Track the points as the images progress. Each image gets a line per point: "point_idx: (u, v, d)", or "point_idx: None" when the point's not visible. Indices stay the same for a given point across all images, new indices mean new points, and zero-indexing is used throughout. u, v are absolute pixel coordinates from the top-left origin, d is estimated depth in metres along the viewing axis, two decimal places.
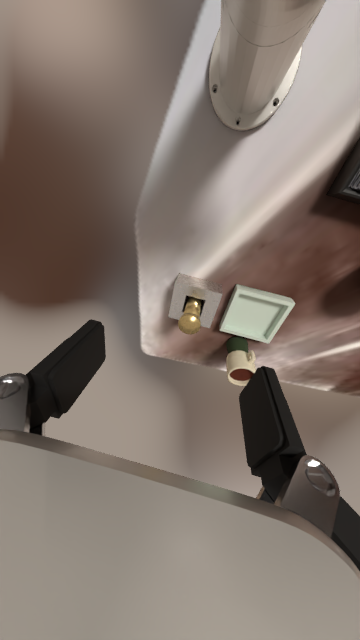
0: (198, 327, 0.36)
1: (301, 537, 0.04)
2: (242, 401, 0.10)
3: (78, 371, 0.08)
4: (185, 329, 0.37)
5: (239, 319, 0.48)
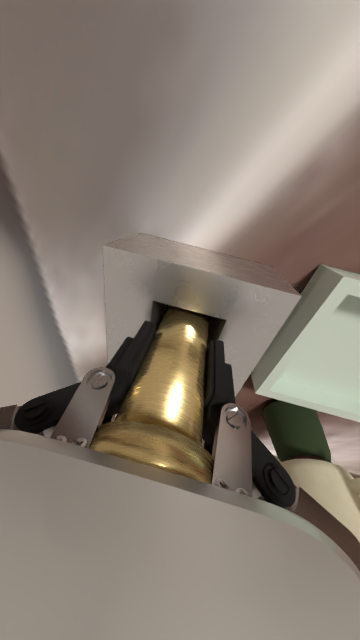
0: None
1: (301, 537, 0.04)
2: None
3: None
4: None
5: (310, 365, 0.18)
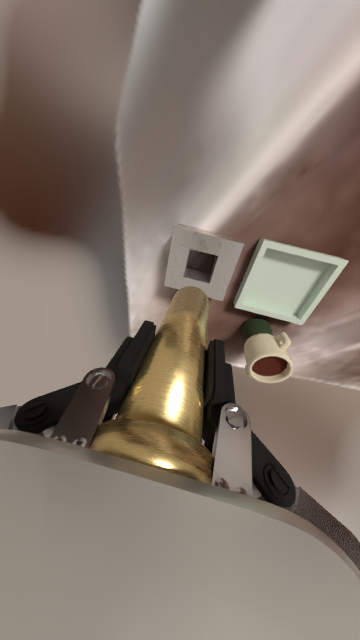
0: None
1: (301, 537, 0.04)
2: None
3: None
4: None
5: (262, 291, 0.35)
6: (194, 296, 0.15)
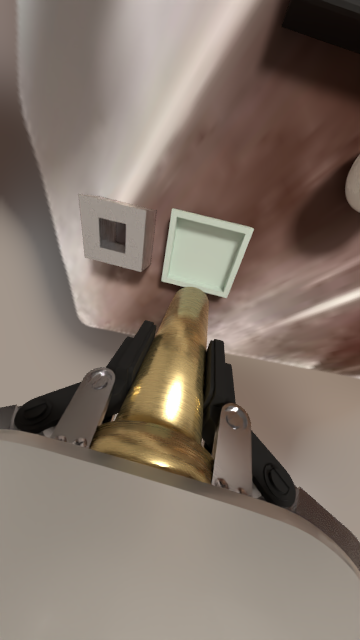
0: None
1: (301, 537, 0.04)
2: None
3: None
4: None
5: (186, 265, 0.36)
6: (194, 297, 0.15)
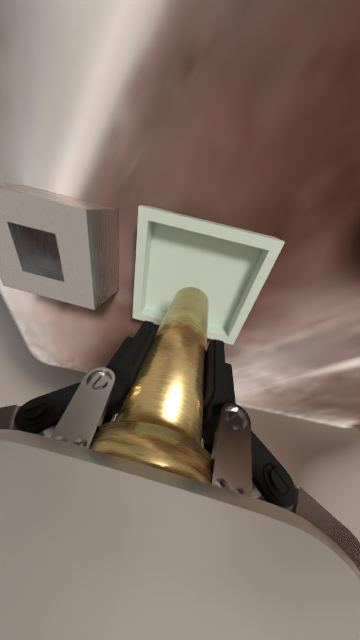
0: None
1: (301, 537, 0.04)
2: None
3: None
4: None
5: (171, 294, 0.23)
6: (194, 297, 0.15)
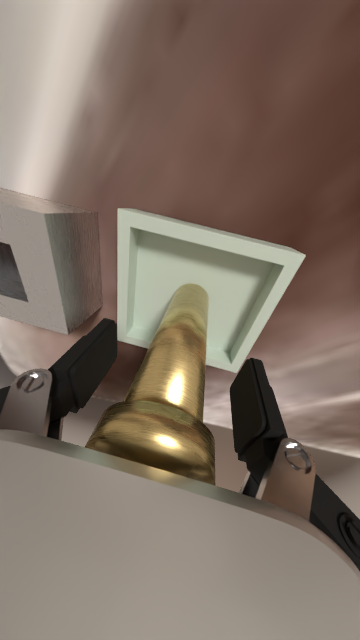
0: None
1: (301, 537, 0.04)
2: (232, 392, 0.11)
3: (94, 367, 0.09)
4: None
5: (163, 312, 0.19)
6: (195, 293, 0.15)
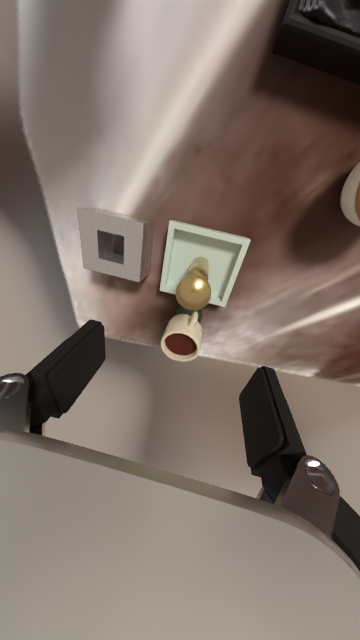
0: (207, 297, 0.23)
1: (301, 537, 0.04)
2: (242, 401, 0.10)
3: (78, 371, 0.08)
4: (187, 302, 0.23)
5: (184, 274, 0.36)
6: (202, 260, 0.32)
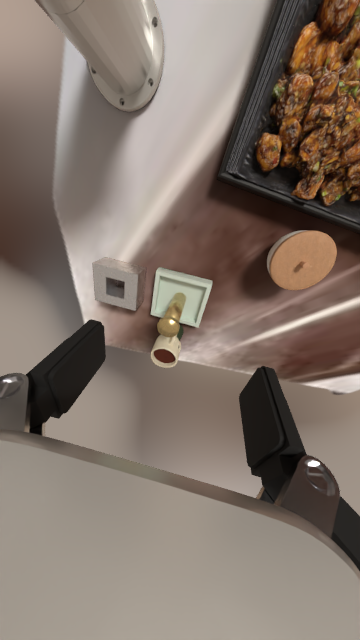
0: (177, 330, 0.36)
1: (301, 537, 0.04)
2: (242, 401, 0.10)
3: (78, 371, 0.08)
4: (164, 332, 0.37)
5: (169, 303, 0.49)
6: (180, 296, 0.45)
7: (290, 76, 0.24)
